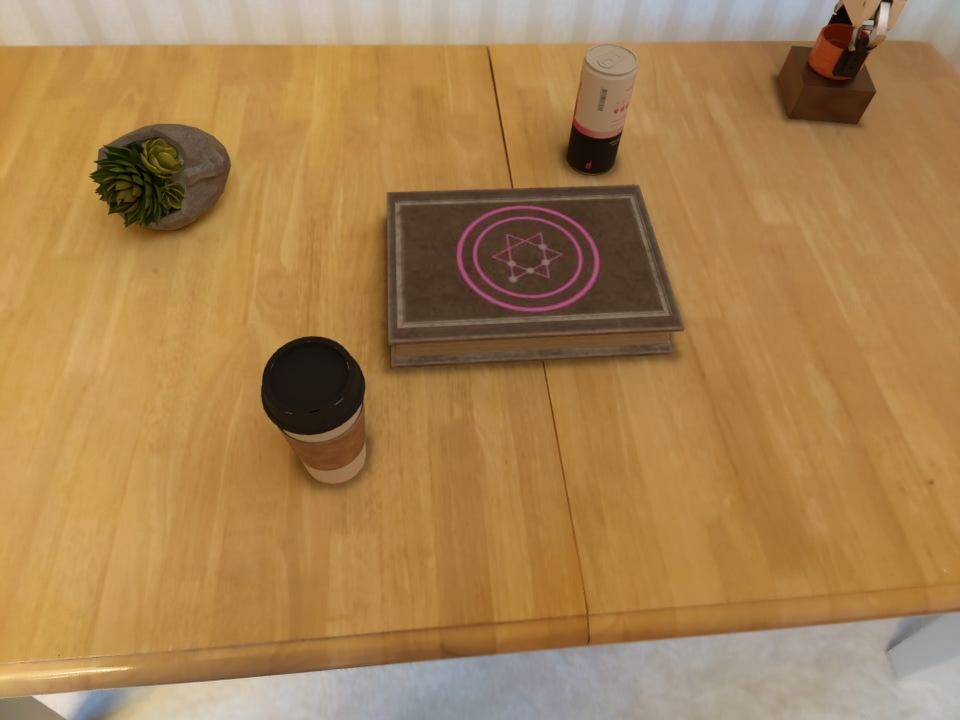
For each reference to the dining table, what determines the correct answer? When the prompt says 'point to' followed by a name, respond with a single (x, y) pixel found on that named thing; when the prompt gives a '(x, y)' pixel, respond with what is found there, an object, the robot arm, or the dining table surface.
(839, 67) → the robot arm
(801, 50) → the stand
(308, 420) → the coffee cup
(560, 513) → the dining table surface
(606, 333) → the book
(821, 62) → the bowl
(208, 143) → the potted plant
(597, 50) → the beverage can
